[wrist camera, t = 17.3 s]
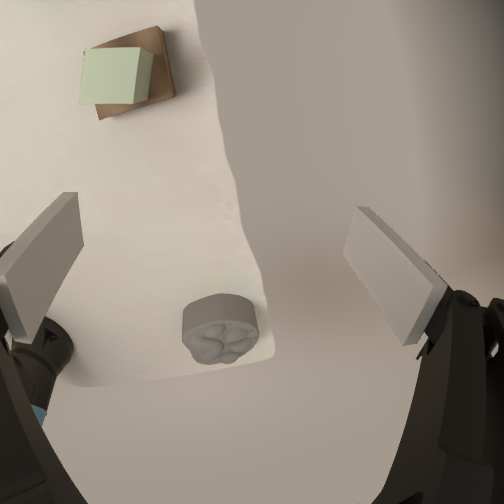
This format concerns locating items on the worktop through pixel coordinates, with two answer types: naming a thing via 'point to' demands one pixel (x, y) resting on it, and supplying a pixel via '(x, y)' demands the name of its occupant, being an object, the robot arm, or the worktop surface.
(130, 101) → the sage block
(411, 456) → the robot arm
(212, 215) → the worktop surface
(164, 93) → the walnut block
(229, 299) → the lumpy-topped squat cylinder
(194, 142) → the worktop surface
